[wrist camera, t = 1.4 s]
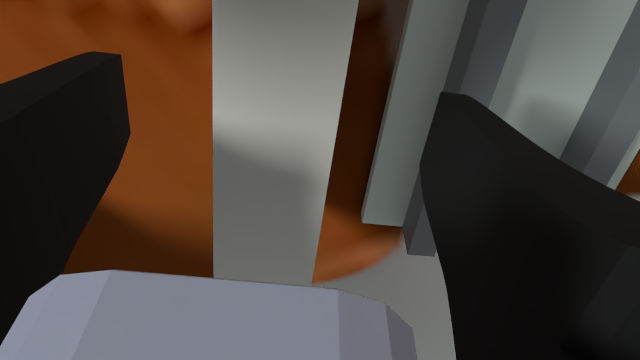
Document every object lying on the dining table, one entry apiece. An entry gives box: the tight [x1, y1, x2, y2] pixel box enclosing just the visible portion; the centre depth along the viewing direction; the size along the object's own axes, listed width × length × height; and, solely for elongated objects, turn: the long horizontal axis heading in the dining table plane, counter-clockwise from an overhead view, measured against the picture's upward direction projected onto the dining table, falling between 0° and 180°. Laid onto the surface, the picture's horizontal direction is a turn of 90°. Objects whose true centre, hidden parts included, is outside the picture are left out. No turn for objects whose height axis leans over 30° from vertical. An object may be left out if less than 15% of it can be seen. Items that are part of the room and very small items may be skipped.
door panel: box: [212, 0, 359, 286], centre depth 13 cm, size 2×10×7 cm, turn 173°
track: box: [361, 0, 640, 257], centre depth 15 cm, size 9×16×2 cm, turn 173°
